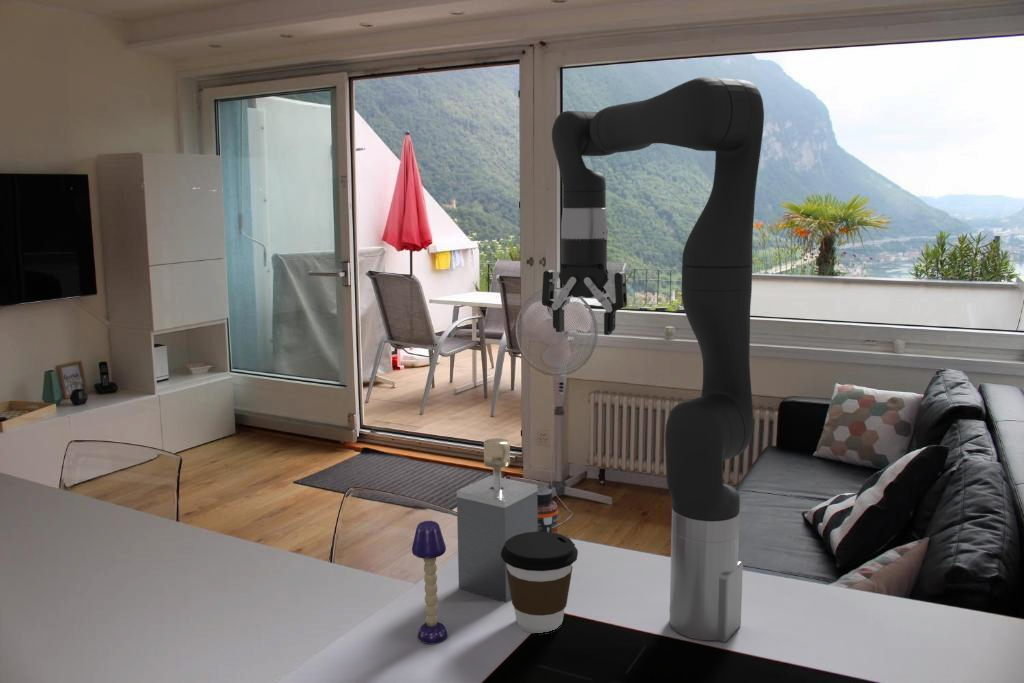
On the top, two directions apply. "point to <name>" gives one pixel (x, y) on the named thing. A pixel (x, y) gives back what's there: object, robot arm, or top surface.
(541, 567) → the coffee cup
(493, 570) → the block with hole
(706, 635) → the robot arm
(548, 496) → the supplement bottle
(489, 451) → the tan rounded stemmed piece
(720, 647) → the top surface
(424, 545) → the toy lamp
